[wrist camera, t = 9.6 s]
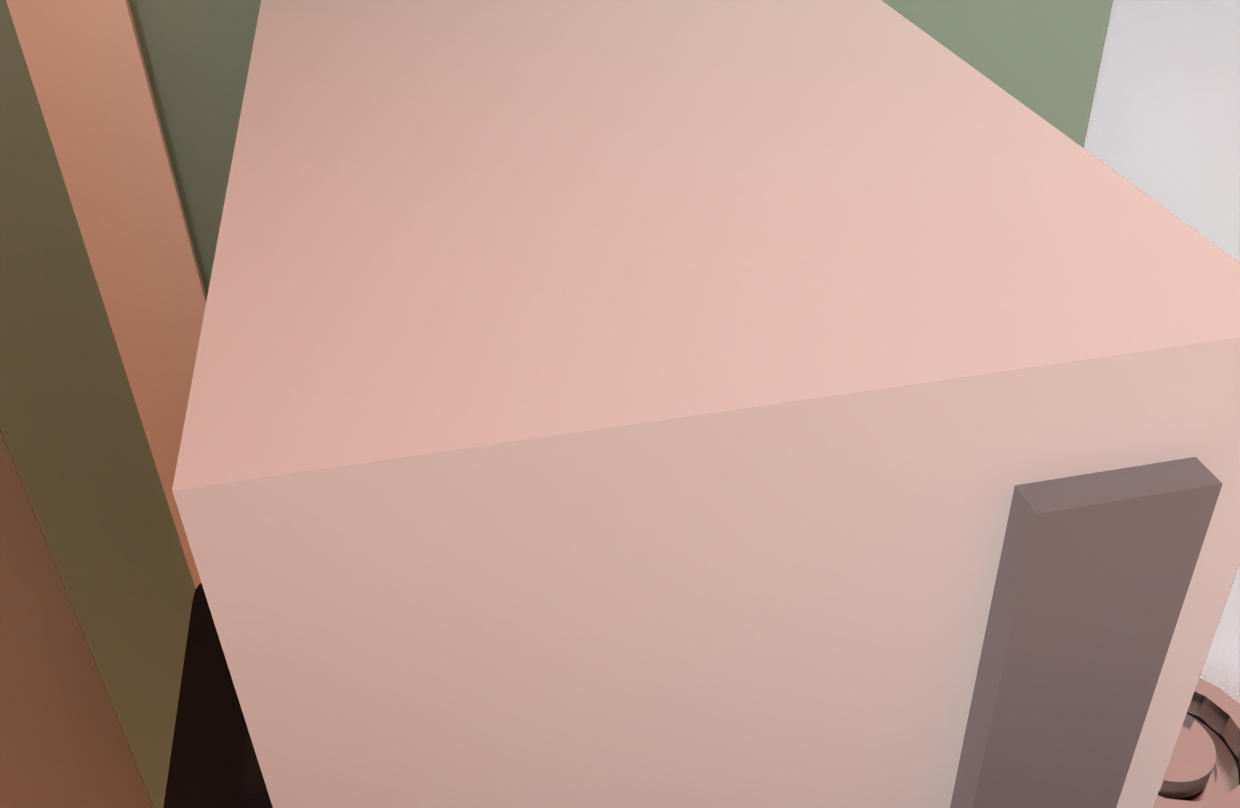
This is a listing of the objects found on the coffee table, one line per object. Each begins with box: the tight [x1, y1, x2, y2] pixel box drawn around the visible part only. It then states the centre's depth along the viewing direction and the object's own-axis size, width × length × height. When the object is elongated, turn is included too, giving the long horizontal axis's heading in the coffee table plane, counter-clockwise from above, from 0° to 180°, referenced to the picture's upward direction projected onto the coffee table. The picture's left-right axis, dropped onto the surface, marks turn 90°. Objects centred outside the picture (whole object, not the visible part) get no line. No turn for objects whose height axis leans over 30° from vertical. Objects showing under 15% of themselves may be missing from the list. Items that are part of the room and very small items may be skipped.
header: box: [0, 0, 1113, 808], centre depth 11 cm, size 14×10×6 cm
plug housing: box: [172, 0, 1240, 808], centre depth 9 cm, size 10×4×6 cm, turn 2°
